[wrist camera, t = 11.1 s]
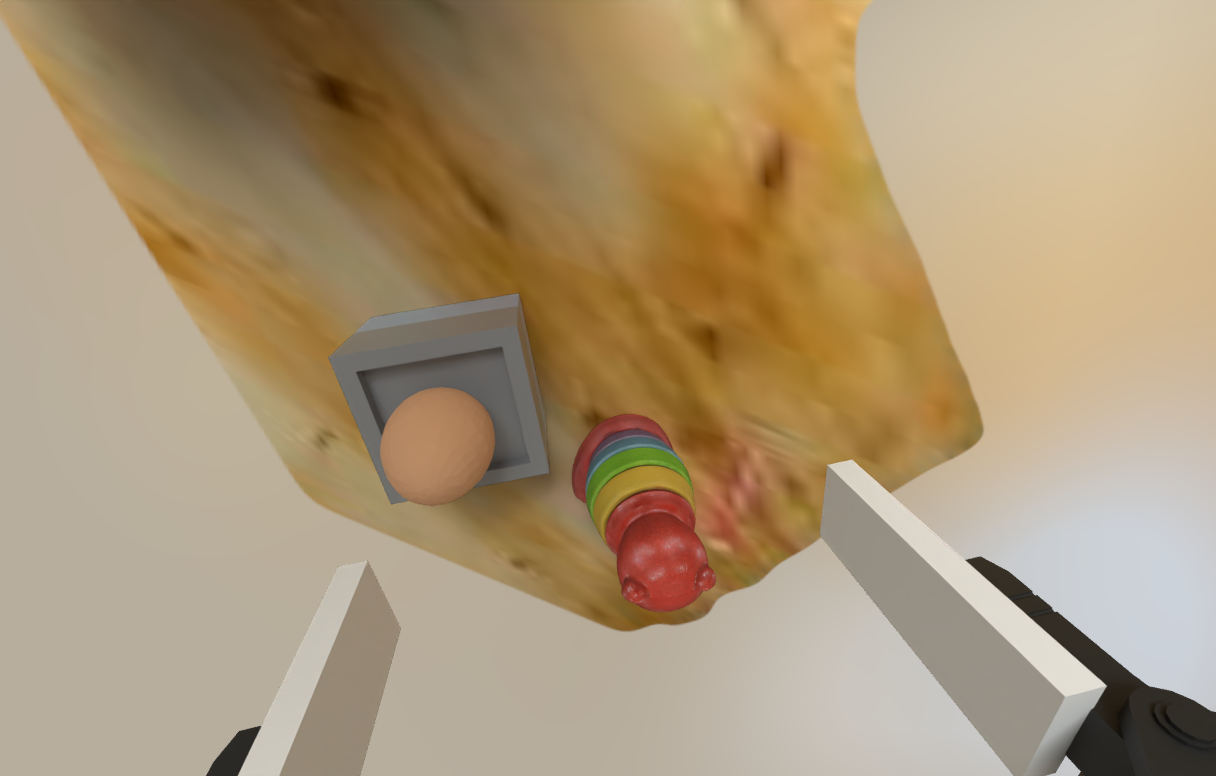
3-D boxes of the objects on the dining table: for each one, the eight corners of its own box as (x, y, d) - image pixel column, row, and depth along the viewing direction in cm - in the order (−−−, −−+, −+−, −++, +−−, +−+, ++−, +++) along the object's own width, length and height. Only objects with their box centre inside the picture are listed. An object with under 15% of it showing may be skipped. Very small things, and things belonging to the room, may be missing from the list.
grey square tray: (371, 317, 37) (328, 357, 29) (519, 293, 38) (516, 325, 30) (416, 441, 42) (391, 504, 34) (545, 417, 43) (549, 472, 35)
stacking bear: (572, 499, 48) (594, 660, 32) (570, 414, 44) (595, 552, 28) (671, 490, 50) (739, 640, 34) (679, 407, 45) (761, 535, 30)
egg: (403, 451, 34) (365, 537, 26) (396, 366, 31) (351, 433, 23) (497, 452, 35) (489, 534, 27) (499, 370, 32) (489, 435, 24)
